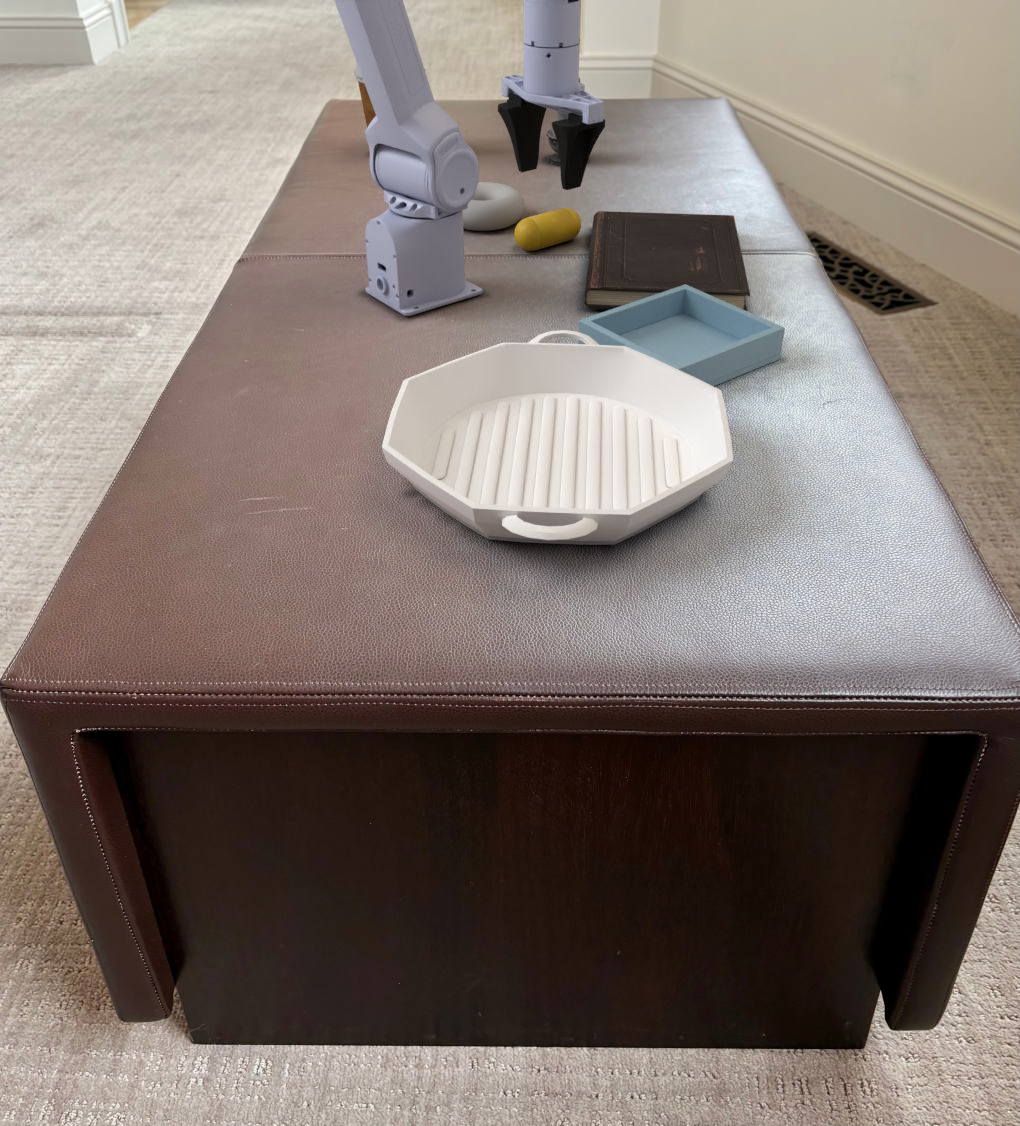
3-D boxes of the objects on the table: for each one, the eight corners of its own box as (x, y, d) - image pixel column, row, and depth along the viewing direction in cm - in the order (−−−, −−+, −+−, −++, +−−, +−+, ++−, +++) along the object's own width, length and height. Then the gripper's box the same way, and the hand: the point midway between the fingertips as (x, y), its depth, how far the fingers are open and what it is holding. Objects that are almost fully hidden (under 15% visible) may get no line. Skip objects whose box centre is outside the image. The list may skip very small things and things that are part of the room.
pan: (422, 369, 96) (419, 323, 93) (707, 378, 95) (712, 332, 92) (357, 580, 71) (351, 527, 69) (741, 597, 70) (750, 543, 67)
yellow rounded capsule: (527, 258, 117) (527, 226, 115) (507, 248, 120) (507, 217, 117) (587, 241, 121) (588, 209, 119) (566, 232, 124) (567, 201, 122)
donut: (521, 237, 123) (528, 206, 131) (521, 208, 121) (528, 178, 128) (435, 234, 124) (447, 204, 131) (433, 205, 121) (446, 176, 129)
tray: (672, 403, 91) (676, 370, 89) (577, 351, 99) (578, 320, 97) (780, 359, 97) (785, 327, 96) (682, 313, 105) (685, 284, 104)
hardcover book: (731, 235, 123) (733, 215, 122) (746, 315, 105) (750, 292, 103) (592, 230, 124) (593, 210, 123) (583, 309, 106) (584, 286, 104)
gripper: (629, 49, 105) (621, 188, 113) (537, 25, 114) (536, 156, 123) (574, 59, 102) (570, 201, 110) (484, 34, 111) (487, 167, 119)
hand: (549, 178), depth 116 cm, fingers open, 7 cm apart
